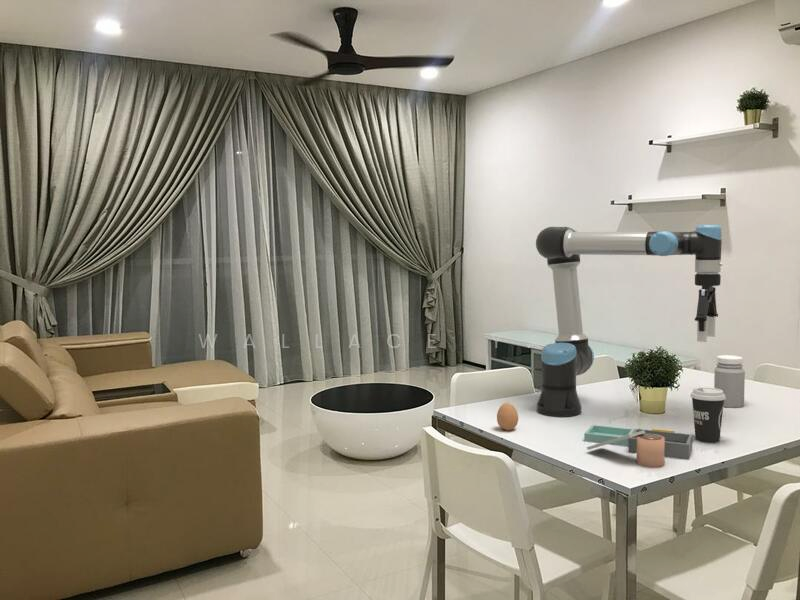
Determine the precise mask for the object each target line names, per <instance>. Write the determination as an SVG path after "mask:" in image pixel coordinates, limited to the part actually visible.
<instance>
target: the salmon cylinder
mask: <svg viewBox="0 0 800 600" xmlns="http://www.w3.org/2000/svg"><path fill="white" fill-rule="evenodd" d="M635 454H636V464H638V465H640V466H643V467H648V468H661V467H664V466H665V438H664V437H663V436H660V435H656V434H640V435H637V448H636V453H635Z"/></svg>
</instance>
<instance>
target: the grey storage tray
mask: <svg viewBox="0 0 800 600" xmlns="http://www.w3.org/2000/svg"><path fill="white" fill-rule="evenodd" d="M633 429H634V431H633V432H632V433H636V432H639V431H643V430H644V431H645V433H644V434H656V435H660V436H663V437H664V438H665V457H666V458H673V459H684V460H689V459H690V457H691V455H692V451H693V443H694V442H693V441H694V440H693V437H694V436H693V435H694V434H692V433H684V432H683V433H681V432H675V430H673V429H663V428H654V427H652V428H651V429H642V428H633ZM666 441H669V442H666ZM675 442H678V443H675ZM684 443H686V444H684ZM636 448H637V436H634V437H630V438H629V447H628V453H633V454H636Z"/></svg>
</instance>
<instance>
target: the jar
mask: <svg viewBox="0 0 800 600" xmlns="http://www.w3.org/2000/svg"><path fill="white" fill-rule="evenodd" d="M743 363H744V360H743V357H742V356H739V355H733V354H731V355H730V354H729V355H728V354H723V355H717V356H716V367H715V368H714V382H713V383H714V386H713V388H716V389H720V390H722V391H723V393H724V394H725V396H726V399H725V400H724V405H723V408H727V409H736V408H737V409H740V408H744V406H745V385H746V384H745V382H746V381H745V377H746V375H745V374H746V372H745V369H744V368H743V367H744V366H743Z"/></svg>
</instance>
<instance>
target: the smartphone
mask: <svg viewBox="0 0 800 600" xmlns="http://www.w3.org/2000/svg"><path fill="white" fill-rule="evenodd" d="M644 433H645V431H644V430H643V431H639V432H636V433H632V434H629V435H626V436H622V437H619V438H616V439H612V440H609V441H606V442H602V443H595V444H593V445H589V446H587V447H586V450H587V451H589V450H593V449H597V448H599V447H603V446H606V445H611V444H610V443H614V442H617V441H620V440H624V439H627V438H630V437H634V436H637V435H640V434H644Z"/></svg>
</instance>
